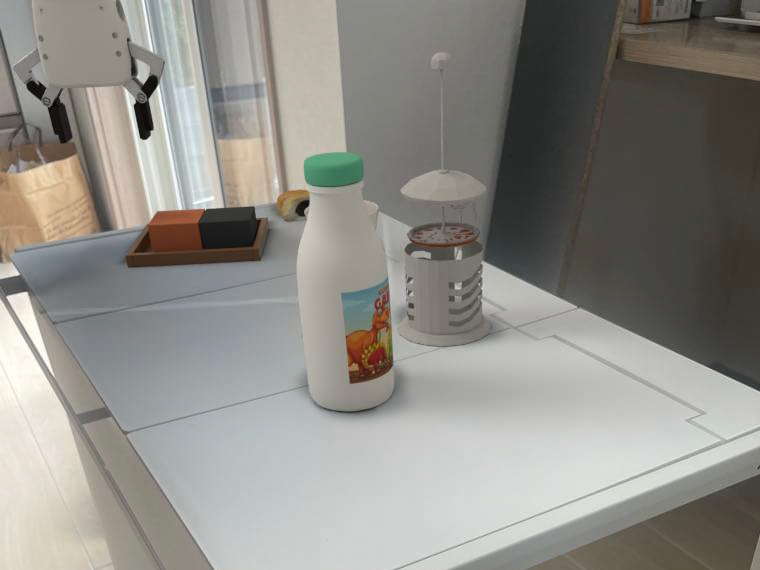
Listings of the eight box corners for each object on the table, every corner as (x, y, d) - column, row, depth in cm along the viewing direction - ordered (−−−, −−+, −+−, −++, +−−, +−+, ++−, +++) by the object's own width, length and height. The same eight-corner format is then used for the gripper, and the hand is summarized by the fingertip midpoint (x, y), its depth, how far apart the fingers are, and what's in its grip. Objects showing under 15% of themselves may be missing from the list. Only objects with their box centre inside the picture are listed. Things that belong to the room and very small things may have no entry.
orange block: (153, 257, 108) (147, 225, 106) (163, 241, 113) (156, 211, 111) (203, 254, 108) (197, 222, 106) (210, 239, 113) (205, 208, 111)
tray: (129, 272, 105) (125, 255, 104) (150, 239, 116) (146, 223, 115) (260, 265, 106) (258, 248, 104) (269, 232, 117) (267, 217, 115)
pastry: (268, 210, 126) (265, 183, 123) (311, 204, 128) (309, 178, 125) (286, 226, 119) (283, 198, 116) (331, 220, 121) (329, 192, 118)
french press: (381, 338, 86) (365, 59, 71) (427, 299, 94) (421, 41, 79) (471, 352, 82) (474, 61, 67) (510, 310, 91) (520, 43, 76)
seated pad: (204, 254, 108) (198, 222, 106) (211, 239, 113) (206, 208, 111) (254, 251, 108) (249, 219, 106) (258, 236, 113) (254, 205, 111)
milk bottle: (319, 420, 72) (291, 173, 60) (302, 382, 78) (274, 152, 66) (405, 405, 74) (394, 162, 62) (382, 370, 80) (368, 142, 68)
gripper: (154, -34, 95) (182, 130, 106) (1, -28, 95) (44, 136, 105) (140, -32, 89) (171, 143, 100) (-23, -25, 89) (25, 149, 99)
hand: (106, 139), depth 102 cm, fingers open, 9 cm apart
